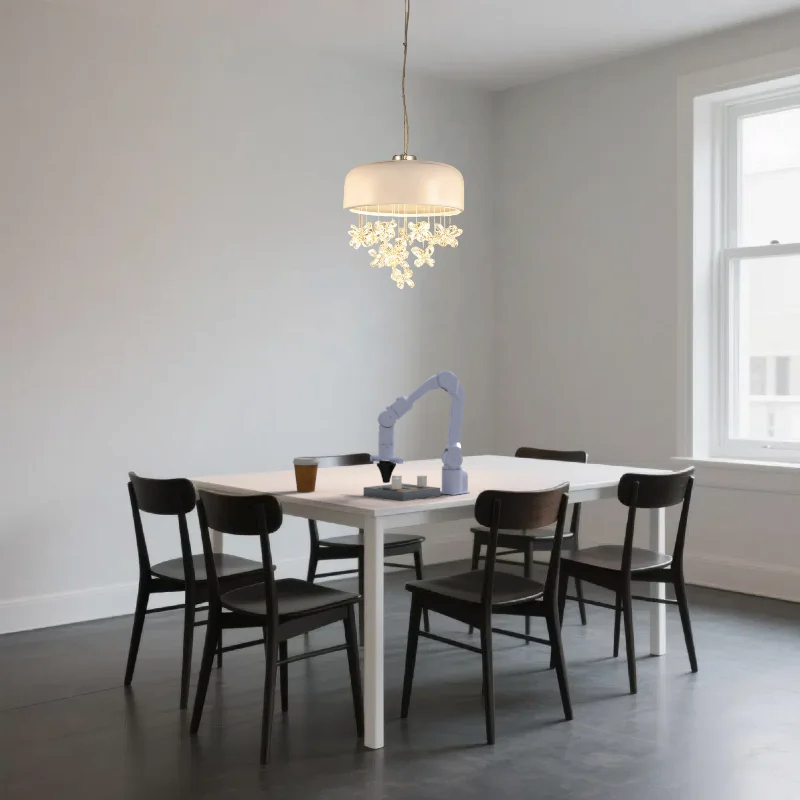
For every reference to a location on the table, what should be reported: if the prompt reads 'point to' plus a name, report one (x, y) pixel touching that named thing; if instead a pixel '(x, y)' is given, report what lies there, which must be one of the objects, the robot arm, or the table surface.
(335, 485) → the table surface
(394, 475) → the block
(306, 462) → the disposable coffee cup
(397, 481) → the block
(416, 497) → the panel
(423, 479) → the breaker
